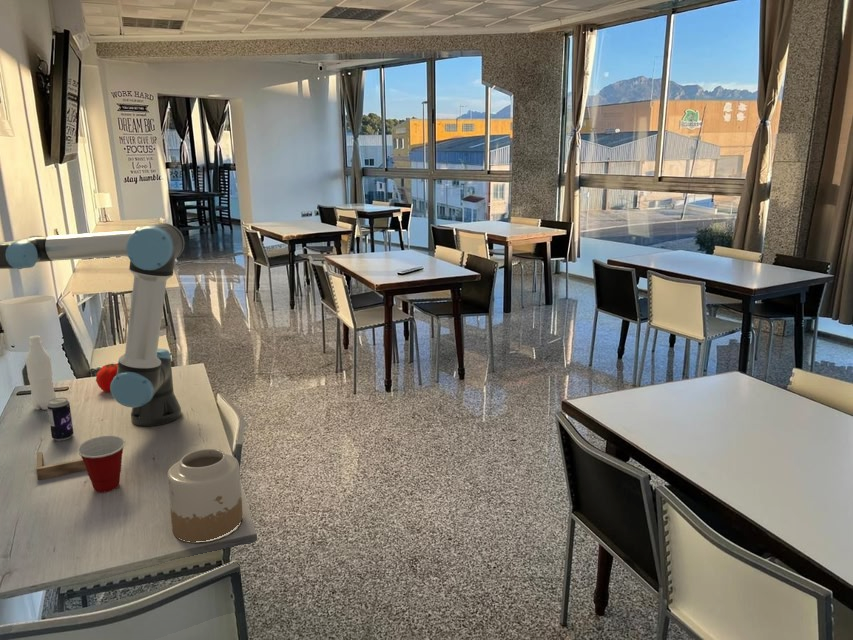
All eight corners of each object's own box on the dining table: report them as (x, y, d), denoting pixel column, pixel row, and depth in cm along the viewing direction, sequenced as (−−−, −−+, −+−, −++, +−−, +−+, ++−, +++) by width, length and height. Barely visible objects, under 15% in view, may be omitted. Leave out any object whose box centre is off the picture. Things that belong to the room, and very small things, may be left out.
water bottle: (61, 406, 208) (51, 336, 202) (39, 413, 202) (28, 340, 196) (50, 402, 212) (40, 332, 206) (28, 408, 206) (17, 337, 200)
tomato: (140, 386, 228) (137, 360, 226) (110, 397, 217) (107, 370, 214) (119, 382, 232) (116, 356, 230) (89, 392, 221) (85, 365, 219)
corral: (89, 452, 174) (88, 443, 174) (91, 468, 165) (90, 458, 164) (38, 462, 168) (37, 452, 167) (37, 479, 159) (36, 469, 158)
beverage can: (64, 442, 181) (58, 404, 178) (47, 440, 182) (42, 403, 179) (78, 434, 186) (73, 397, 183) (62, 433, 187) (57, 396, 184)
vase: (165, 519, 142) (159, 453, 138) (230, 500, 150) (226, 437, 146) (182, 552, 130) (175, 481, 126) (252, 529, 138) (248, 462, 134)
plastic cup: (82, 502, 149) (76, 457, 146) (83, 482, 158) (77, 440, 155) (131, 492, 154) (126, 448, 151) (129, 473, 163) (124, 432, 160)
